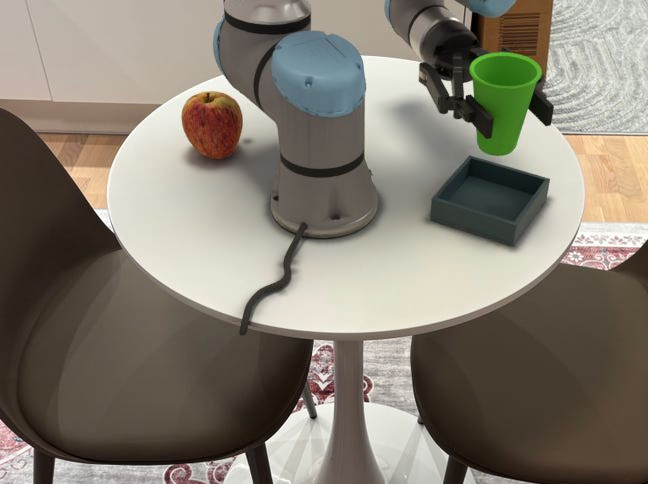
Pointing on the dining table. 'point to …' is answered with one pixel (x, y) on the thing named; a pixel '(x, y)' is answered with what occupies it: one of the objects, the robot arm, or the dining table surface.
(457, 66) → the robot arm
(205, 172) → the dining table surface
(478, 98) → the cup
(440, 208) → the holder
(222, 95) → the apple
